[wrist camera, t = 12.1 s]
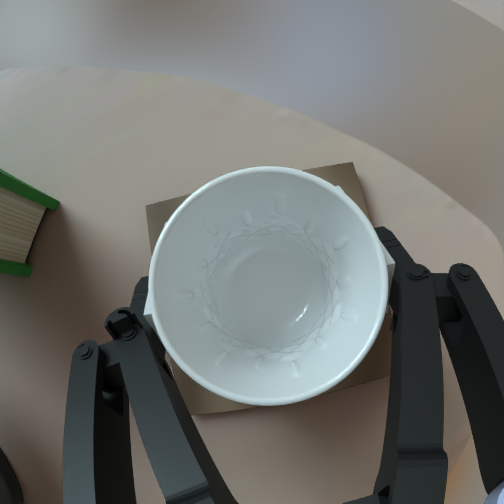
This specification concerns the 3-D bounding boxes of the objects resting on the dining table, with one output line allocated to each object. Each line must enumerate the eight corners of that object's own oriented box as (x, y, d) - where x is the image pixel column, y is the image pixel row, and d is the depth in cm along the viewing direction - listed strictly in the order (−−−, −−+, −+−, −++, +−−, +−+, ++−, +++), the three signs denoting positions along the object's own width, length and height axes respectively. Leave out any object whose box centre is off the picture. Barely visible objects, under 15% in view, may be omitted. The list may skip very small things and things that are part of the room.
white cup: (204, 235, 20) (145, 181, 11) (325, 223, 20) (368, 158, 10) (214, 357, 19) (160, 408, 9) (337, 346, 19) (395, 388, 9)
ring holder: (190, 408, 21) (178, 423, 18) (153, 211, 23) (137, 199, 20) (392, 367, 20) (408, 376, 17) (348, 170, 22) (357, 152, 19)
